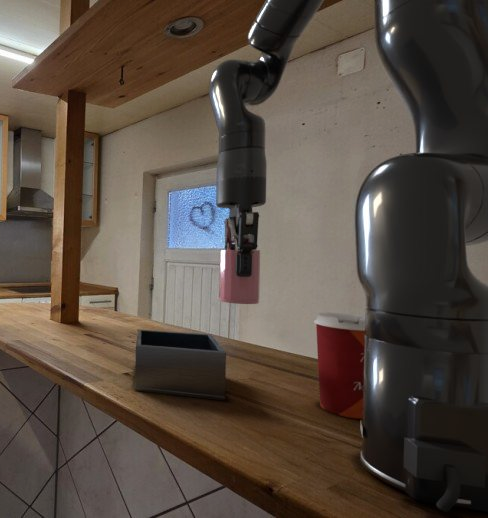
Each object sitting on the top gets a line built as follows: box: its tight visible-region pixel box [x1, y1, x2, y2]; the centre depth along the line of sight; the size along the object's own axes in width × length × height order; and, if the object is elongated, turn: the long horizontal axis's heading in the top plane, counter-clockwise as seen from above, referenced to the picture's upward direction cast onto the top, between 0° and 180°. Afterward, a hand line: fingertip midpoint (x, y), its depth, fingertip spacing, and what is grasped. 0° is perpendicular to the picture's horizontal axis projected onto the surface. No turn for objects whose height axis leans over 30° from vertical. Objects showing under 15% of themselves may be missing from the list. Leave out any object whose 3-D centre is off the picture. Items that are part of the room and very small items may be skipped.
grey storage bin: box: [134, 329, 227, 402], centre depth 67 cm, size 14×14×8 cm
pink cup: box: [218, 249, 261, 305], centre depth 65 cm, size 6×6×9 cm
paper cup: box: [313, 312, 365, 420], centre depth 55 cm, size 8×8×14 cm
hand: (238, 275), depth 65 cm, fingers closed on pink cup, 6 cm apart
